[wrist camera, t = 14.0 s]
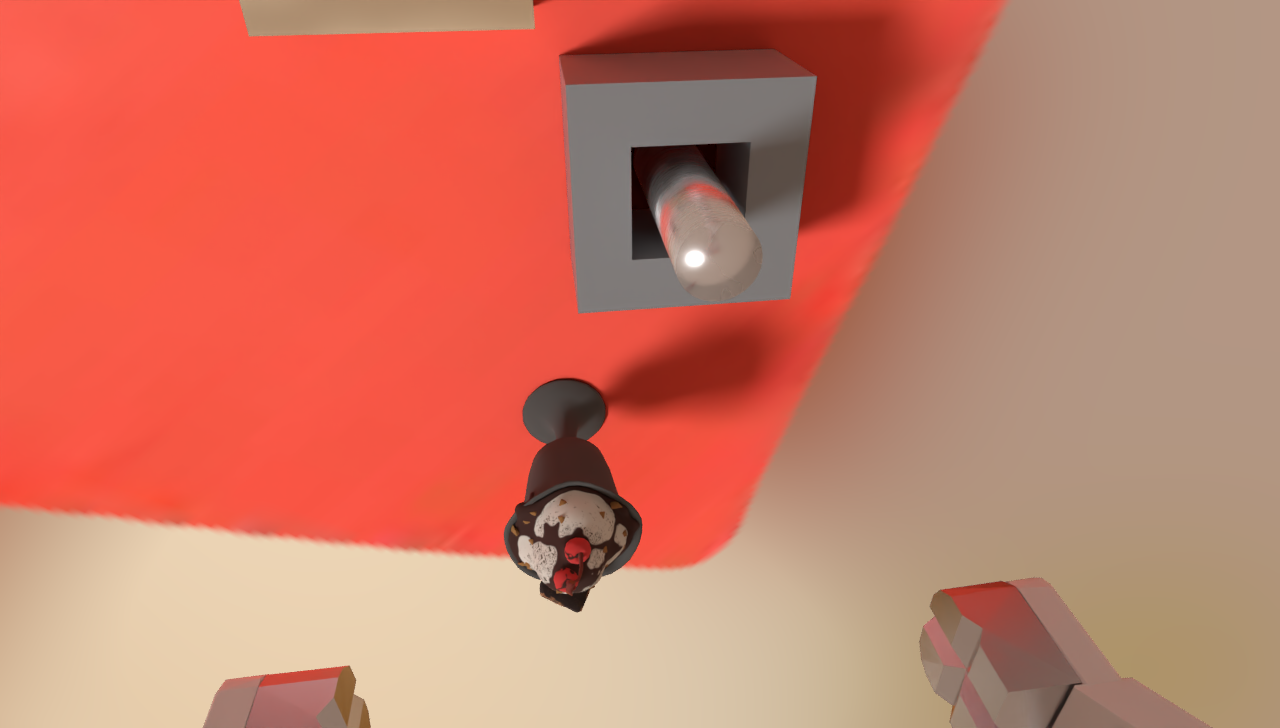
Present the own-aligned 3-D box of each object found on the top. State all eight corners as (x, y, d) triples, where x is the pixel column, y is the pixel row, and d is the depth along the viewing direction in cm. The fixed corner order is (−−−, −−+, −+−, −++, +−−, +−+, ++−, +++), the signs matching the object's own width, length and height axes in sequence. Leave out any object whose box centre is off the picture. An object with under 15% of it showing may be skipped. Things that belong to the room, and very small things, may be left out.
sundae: (561, 345, 41) (578, 542, 29) (641, 409, 45) (688, 611, 32) (483, 415, 43) (467, 629, 31) (565, 472, 46) (581, 686, 34)
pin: (632, 128, 35) (676, 222, 25) (698, 125, 36) (766, 217, 26) (633, 192, 37) (674, 304, 27) (695, 189, 37) (758, 298, 27)
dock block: (558, 55, 33) (565, 84, 28) (774, 48, 34) (817, 76, 29) (571, 258, 39) (578, 313, 34) (756, 247, 40) (790, 298, 35)
